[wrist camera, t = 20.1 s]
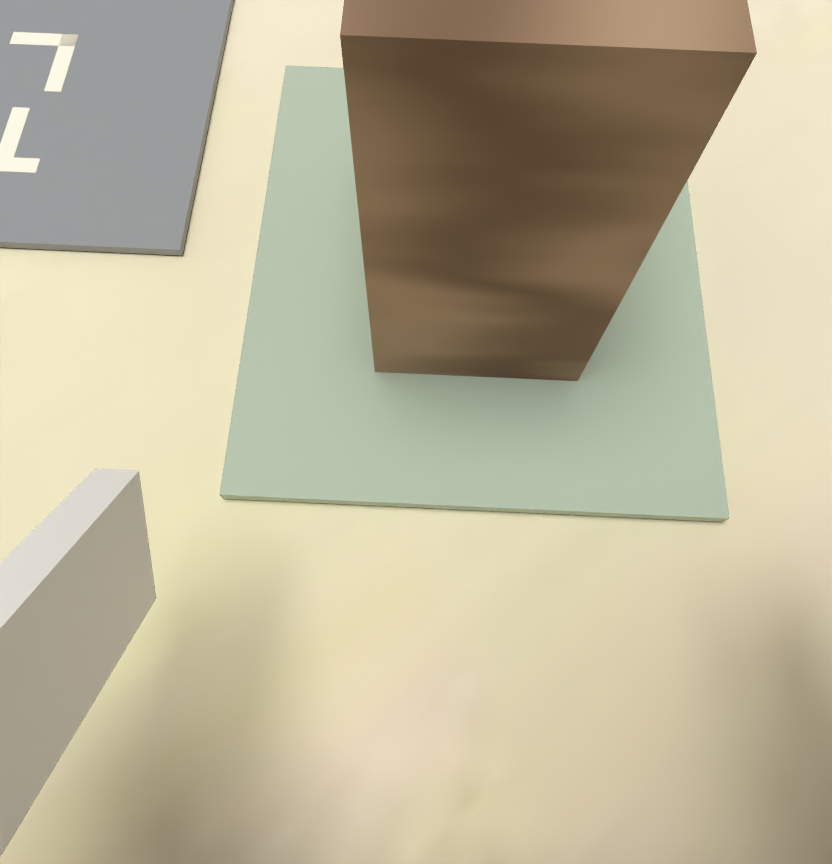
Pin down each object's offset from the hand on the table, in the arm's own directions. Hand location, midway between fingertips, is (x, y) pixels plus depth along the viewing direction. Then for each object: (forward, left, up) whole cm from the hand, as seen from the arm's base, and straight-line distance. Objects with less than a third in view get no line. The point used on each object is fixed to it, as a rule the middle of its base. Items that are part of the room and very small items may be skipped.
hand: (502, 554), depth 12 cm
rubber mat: (0, -10, -6) cm, 12 cm away
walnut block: (0, -10, -6) cm, 12 cm away
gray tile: (+16, -16, -6) cm, 24 cm away
